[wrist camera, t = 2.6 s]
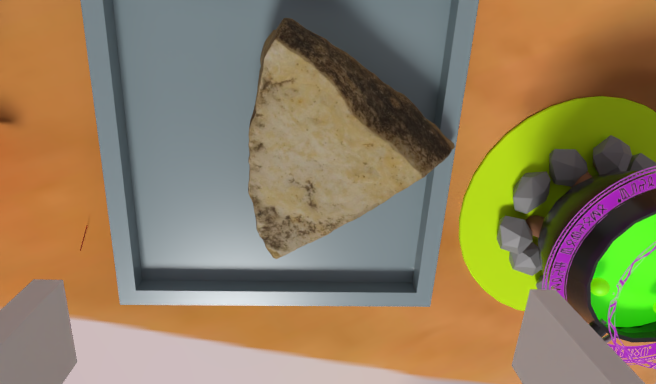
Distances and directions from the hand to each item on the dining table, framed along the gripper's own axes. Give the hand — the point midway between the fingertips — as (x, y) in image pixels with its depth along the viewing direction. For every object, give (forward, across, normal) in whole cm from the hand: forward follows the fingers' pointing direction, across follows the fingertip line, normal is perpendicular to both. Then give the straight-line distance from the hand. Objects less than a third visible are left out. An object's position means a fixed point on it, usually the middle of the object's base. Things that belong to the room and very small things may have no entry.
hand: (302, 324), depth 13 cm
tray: (+14, -1, +1) cm, 14 cm away
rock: (+16, -1, -2) cm, 16 cm away
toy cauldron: (+15, +17, -2) cm, 23 cm away
